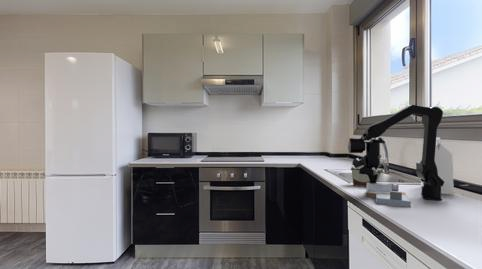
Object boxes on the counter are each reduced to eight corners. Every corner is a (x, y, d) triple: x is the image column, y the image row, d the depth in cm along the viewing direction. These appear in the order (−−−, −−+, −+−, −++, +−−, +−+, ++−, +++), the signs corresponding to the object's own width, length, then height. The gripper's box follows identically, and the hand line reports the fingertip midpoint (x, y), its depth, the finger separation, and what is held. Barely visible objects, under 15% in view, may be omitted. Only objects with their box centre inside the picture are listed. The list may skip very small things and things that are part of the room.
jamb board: (405, 195, 128) (405, 190, 128) (407, 200, 120) (407, 195, 120) (366, 192, 135) (366, 187, 135) (366, 196, 127) (366, 191, 127)
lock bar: (396, 190, 126) (396, 183, 126) (399, 192, 123) (399, 185, 123) (366, 189, 128) (366, 182, 128) (368, 191, 125) (368, 183, 125)
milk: (453, 194, 131) (455, 138, 131) (424, 192, 136) (425, 137, 136) (447, 189, 142) (448, 137, 142) (420, 187, 147) (421, 137, 146)
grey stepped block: (407, 200, 120) (407, 188, 119) (410, 206, 110) (410, 193, 110) (376, 197, 125) (376, 185, 125) (376, 203, 115) (376, 190, 115)
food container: (375, 185, 151) (376, 166, 151) (375, 187, 146) (376, 168, 146) (351, 183, 157) (351, 165, 156) (350, 185, 151) (350, 166, 151)
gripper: (361, 149, 140) (361, 181, 141) (347, 154, 126) (347, 188, 127) (386, 151, 133) (386, 184, 134) (373, 155, 119) (373, 192, 120)
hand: (372, 187), depth 129 cm, fingers closed
